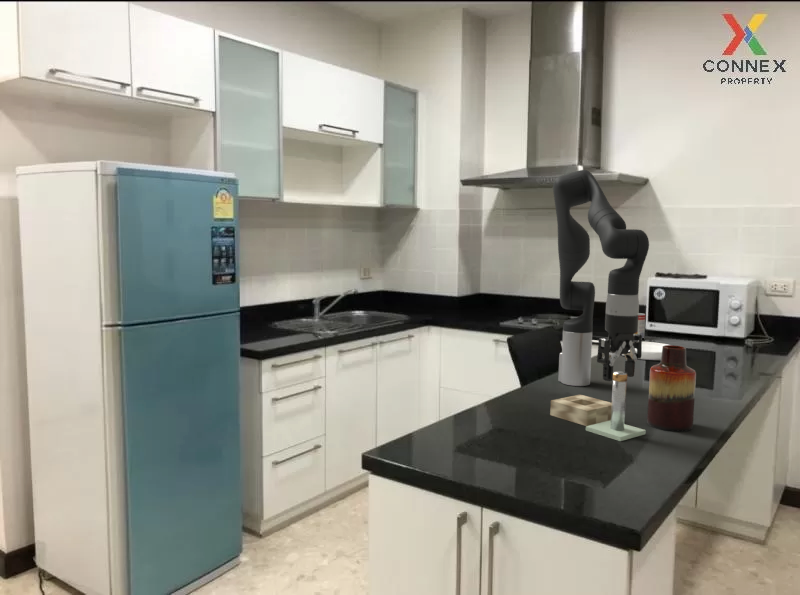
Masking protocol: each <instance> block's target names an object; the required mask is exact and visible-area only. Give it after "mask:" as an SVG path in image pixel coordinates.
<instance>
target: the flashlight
mask: <svg viewBox="0 0 800 595" xmlns="http://www.w3.org/2000/svg"><path fill="white" fill-rule="evenodd" d="M627 382H628V376H627V373H626V372H625V371H621V370H616V371H614V370H613V380H612V386H611V387H612V390H611V403H612V406H611V426H610V428H611V429H612V430H616V431H623V430H624V424H625V420H626V404H627V403H626V402H627V401H626V398H627V384H628V383H627Z"/></svg>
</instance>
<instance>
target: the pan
mask: <svg viewBox="0 0 800 595" xmlns="http://www.w3.org/2000/svg"><path fill="white" fill-rule="evenodd" d="M592 343H598V344H599V340H598V339H597V340H595V339H592ZM665 345H669V344H667V343H661V342H660V343H659V342H653V341H642V355H641V358H638V359H637V360H645V361H661V356H662V348H663V346H665ZM635 351H636V353H637V349H636V348H635ZM621 356H624V354H622V355H621ZM624 357H625V356H624Z"/></svg>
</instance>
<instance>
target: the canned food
mask: <svg viewBox="0 0 800 595" xmlns="http://www.w3.org/2000/svg"><path fill="white" fill-rule="evenodd" d="M645 329H646V314H645V313H641V312H639V314H638V331H637V332H636V333H634V334H639V335H642V338H644V339H645V335H646V334H645V333H646V332H645V331H646V330H645Z"/></svg>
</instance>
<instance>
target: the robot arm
mask: <svg viewBox="0 0 800 595" xmlns="http://www.w3.org/2000/svg"><path fill="white" fill-rule="evenodd" d="M553 180H554V181H553V184H552V190H553V199H554V207H555V214H556V221H557V223H556V224H557V250H558V251H557V252H558V262H559V263H558V264H559V303H560V306H561V307H562V309H565V310H567V311H568V310H571V311H572V310H573V311H582V314H581V315H579V316H577V317H575V318H571V319H567V320H564V322H563V325H562V344H561V345H562V348H561V349H562V350H561V352H559V357H558V379H557V380H558V382H560V383H561V384H563V385H568V386H573V387H575V386H576V387H584V386H589V385H591V372H592V371H591V369H592V352H593V350H592V348H593V345H592V344H593V342H592V340H593V326H594V325H593V321H594V318H593V317H594V309H595V308H594V307H595V298H596V288H595V287H596V286H595V283H594V282H590V281H572V279H573V278H574V276H575V275H576V274H577V273H578V272H579V271H580V270H581V269H582V267H583V266H584V265H585V264H586V263H587V262H588V260H589V258H590V255H591V244H590V243H591V240H590V238H591V237H590V234H589V232H588V231H587V230H586V229H585V228H584V227H583V226H582V225H581V224H580V223H579V222H578V221H577V220H576V219H575V218H574V217H573V216H572V215H571V211H570V210H571V208H573V207H577V206H579V205H580V206H581V205H585V204H587V203H589V202H590V205H589V208H588V212H587V219H588V223H589V226H590V227H591V228H592V230H593V231H594V232H595V234H596V235H597V236H598V238H599V241H600V244H601V249H602V253H603V254H604V255H605V256H606V257H608V258H610V259H613V260H614V259H616V260H621V259H622V260H626V262H625V263H624V265H623V266H622V267H619V268H614V269H611V270H610V271H609V273H608V279H607V294H606V302H605V317H604V330H605V331H606V332H607V333H608V336H607V338H605V337H599V339H598V341H599V343H598V345H597V346H598V347H597V357H596V358H597V359H596V361H597V364H598V363H600V364H602V379H603V380H604V381H606V382H613V372H614V364H615V361H616V360H617V359H619V357H620V356H623V355H622V354H624V358H625V362H624V372H626V373H627V377H629V378H633V377H634V376H635V369H636V362H637V361H638V360H639V359H638V358H641V355H642V342H643V340H642V335H639V334H634V333H636V332H637V331H638V314H639V313H640V311H639V310H640V300H639V290H640V289H639V287H640V277H641V274H642V271H643V267H644V264H645V262H646V259H647V256H648V252H649V249H650V248H649V247H650V241H649V237H648V235H647V233H646V232H645V231H644V230H642V229H638V228H637V229H629V228H628V229H627V224H626V222H625V220H624V218H623V217H622V216H621V215H620V214H619V213H618V212H617V211H616V209H614V208H613V207H612V205H611V204H610V202H609V200H608V199H607V197H606V196H605V195H606V194H605V193H604V191H603V189H602V187H601V186H600V184H599V183H598V181H597V179H596V178H595V176H594V175H593V174H592V173H591V172H590V171H589V170H587V169H580V170H576V171H573V172H572V171H571V172H569V173H566V174H562V175H559V176H556V177H555V179H553ZM635 348H636V349H637V353H636V351H635ZM603 355H604V356H603Z"/></svg>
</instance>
